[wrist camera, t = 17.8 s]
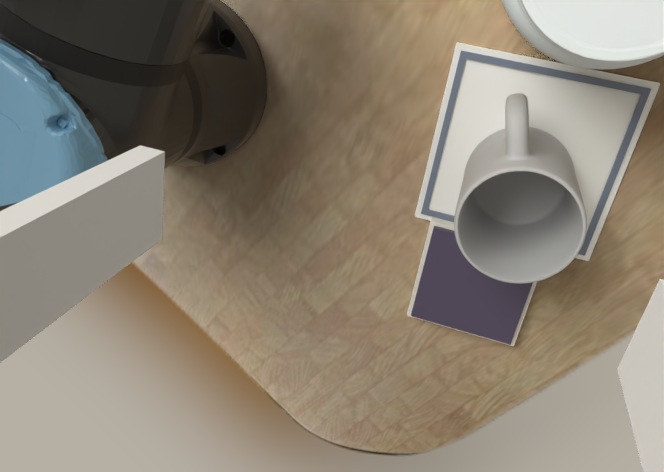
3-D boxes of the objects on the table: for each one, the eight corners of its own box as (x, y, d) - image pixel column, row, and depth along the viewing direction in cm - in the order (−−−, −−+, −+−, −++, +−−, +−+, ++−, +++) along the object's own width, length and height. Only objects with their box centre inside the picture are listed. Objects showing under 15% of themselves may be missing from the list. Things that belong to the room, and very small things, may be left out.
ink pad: (408, 308, 56) (405, 318, 55) (432, 215, 52) (430, 222, 50) (513, 339, 54) (513, 349, 53) (548, 244, 50) (549, 253, 48)
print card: (414, 215, 52) (414, 217, 52) (456, 42, 46) (456, 42, 45) (588, 260, 50) (588, 262, 49) (660, 82, 43) (661, 83, 43)
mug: (573, 223, 48) (587, 286, 39) (467, 225, 51) (456, 285, 41) (575, 74, 44) (592, 104, 34) (459, 85, 47) (444, 116, 37)
